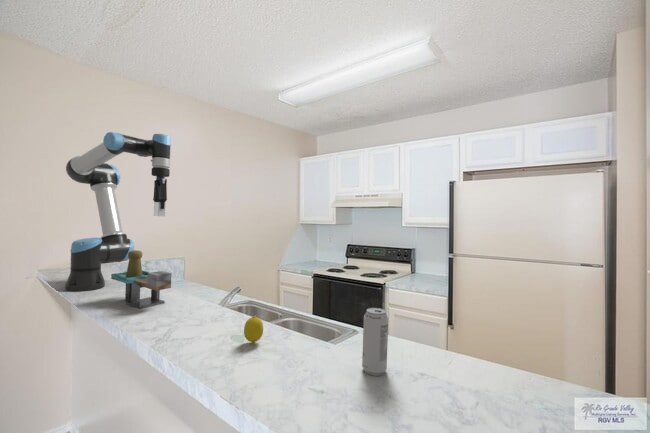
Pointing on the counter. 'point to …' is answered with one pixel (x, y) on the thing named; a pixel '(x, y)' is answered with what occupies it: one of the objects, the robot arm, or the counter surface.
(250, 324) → the lemon
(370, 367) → the energy drink can
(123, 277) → the balance beam
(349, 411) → the counter surface
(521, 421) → the counter surface
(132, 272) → the olive chess piece
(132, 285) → the beam stand
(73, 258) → the robot arm
